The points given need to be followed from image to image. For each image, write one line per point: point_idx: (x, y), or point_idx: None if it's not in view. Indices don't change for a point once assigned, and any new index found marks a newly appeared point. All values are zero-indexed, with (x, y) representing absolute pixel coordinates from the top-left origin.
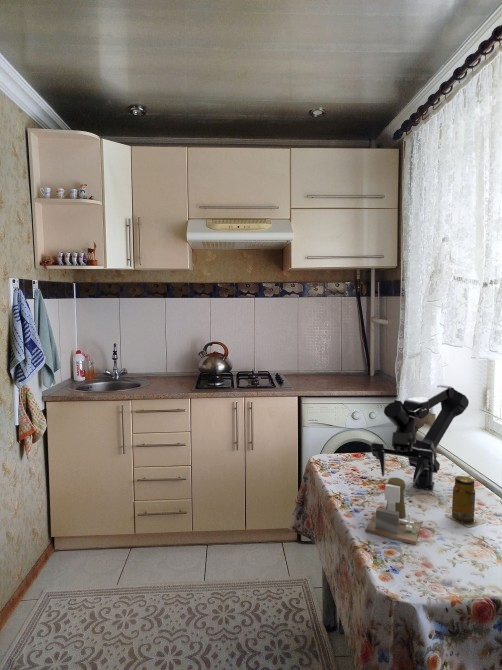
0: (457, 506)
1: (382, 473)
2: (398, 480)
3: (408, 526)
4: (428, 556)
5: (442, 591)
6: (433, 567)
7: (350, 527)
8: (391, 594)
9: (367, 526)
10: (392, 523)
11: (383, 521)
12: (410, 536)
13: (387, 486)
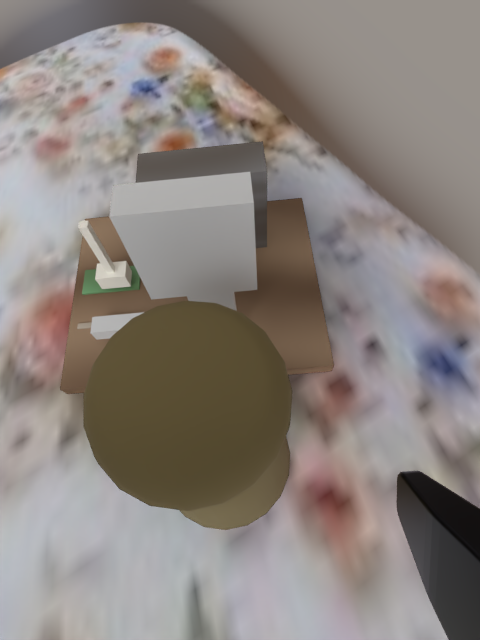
0: None
1: (424, 481)
2: (147, 355)
3: (113, 265)
4: (43, 186)
5: (17, 80)
6: (31, 146)
7: (371, 207)
8: (137, 26)
9: (302, 221)
10: None
11: None
12: (108, 241)
13: (228, 178)
